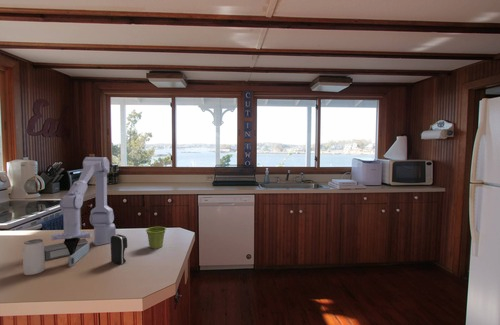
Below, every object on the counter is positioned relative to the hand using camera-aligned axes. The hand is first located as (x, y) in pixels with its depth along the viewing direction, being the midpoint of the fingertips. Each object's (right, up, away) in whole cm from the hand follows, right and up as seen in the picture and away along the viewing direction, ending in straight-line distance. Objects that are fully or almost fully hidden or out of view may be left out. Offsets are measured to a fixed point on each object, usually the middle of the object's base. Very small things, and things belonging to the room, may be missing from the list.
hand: (72, 255), depth 113 cm
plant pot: (+28, -3, +19) cm, 34 cm away
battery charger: (+19, -3, +1) cm, 19 cm away
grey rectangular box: (-9, -2, +10) cm, 14 cm away
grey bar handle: (+1, -2, +4) cm, 5 cm away
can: (-9, -4, -9) cm, 13 cm away
